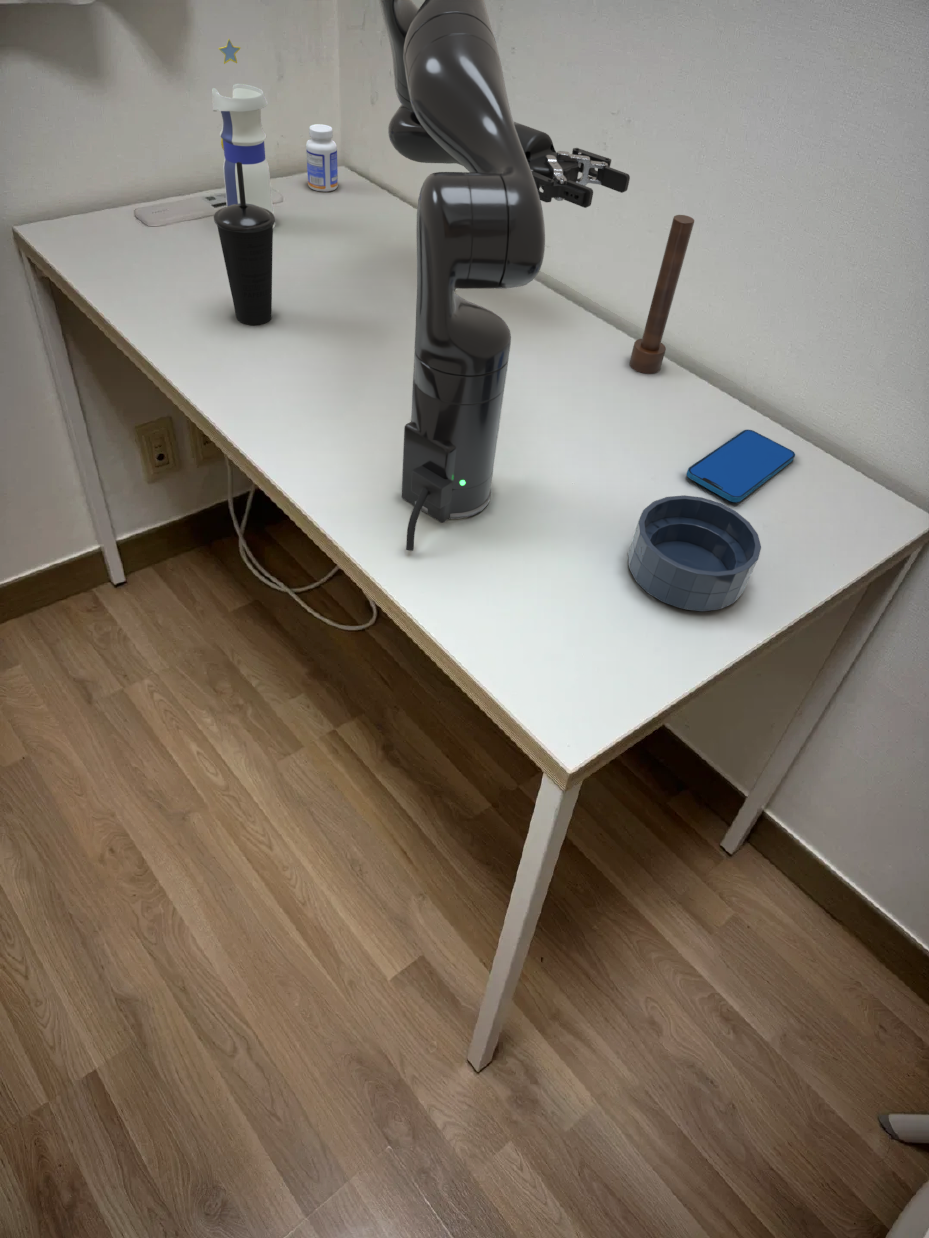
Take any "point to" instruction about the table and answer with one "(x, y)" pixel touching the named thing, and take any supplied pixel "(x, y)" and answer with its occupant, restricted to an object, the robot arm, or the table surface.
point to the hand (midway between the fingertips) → (609, 191)
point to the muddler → (662, 299)
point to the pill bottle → (321, 158)
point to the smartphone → (740, 465)
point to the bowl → (693, 553)
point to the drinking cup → (248, 256)
